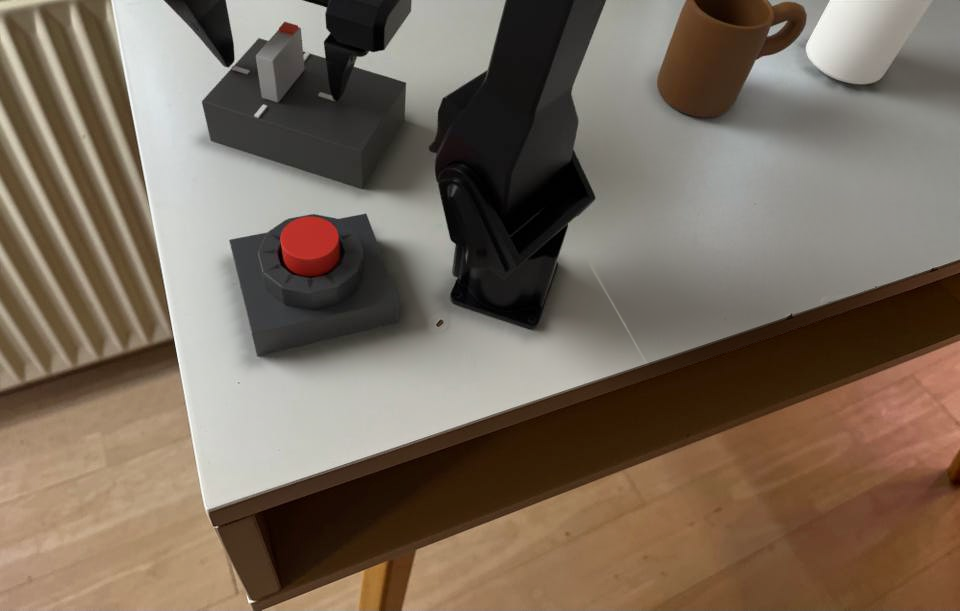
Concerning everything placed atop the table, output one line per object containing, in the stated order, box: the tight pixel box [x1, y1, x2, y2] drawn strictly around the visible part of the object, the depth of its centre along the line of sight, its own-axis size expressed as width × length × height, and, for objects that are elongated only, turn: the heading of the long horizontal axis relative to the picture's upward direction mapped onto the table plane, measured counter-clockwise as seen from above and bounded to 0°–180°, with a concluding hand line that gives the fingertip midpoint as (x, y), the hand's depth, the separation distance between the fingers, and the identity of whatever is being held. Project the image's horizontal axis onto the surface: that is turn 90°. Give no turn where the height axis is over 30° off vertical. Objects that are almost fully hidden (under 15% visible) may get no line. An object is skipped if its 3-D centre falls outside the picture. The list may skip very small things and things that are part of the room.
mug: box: [656, 0, 808, 118], centre depth 67 cm, size 12×8×9 cm, turn 104°
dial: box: [256, 21, 305, 103], centre depth 56 cm, size 5×1×4 cm, turn 162°
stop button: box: [280, 217, 340, 277], centre depth 47 cm, size 4×4×2 cm
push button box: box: [228, 213, 400, 357], centre depth 50 cm, size 10×8×4 cm
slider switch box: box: [201, 37, 407, 190], centre depth 59 cm, size 13×9×4 cm
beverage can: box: [805, 0, 934, 85], centre depth 71 cm, size 8×8×12 cm
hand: (283, 80), depth 58 cm, fingers open, 9 cm apart
